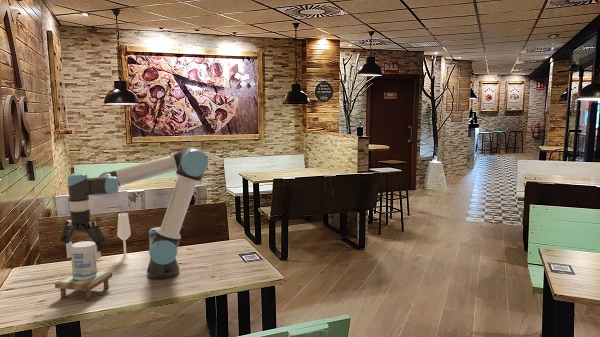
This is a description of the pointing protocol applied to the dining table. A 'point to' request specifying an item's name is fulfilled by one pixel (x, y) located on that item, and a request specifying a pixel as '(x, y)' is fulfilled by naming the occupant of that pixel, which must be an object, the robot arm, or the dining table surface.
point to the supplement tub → (83, 260)
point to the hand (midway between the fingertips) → (84, 257)
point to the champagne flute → (123, 232)
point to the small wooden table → (83, 284)
